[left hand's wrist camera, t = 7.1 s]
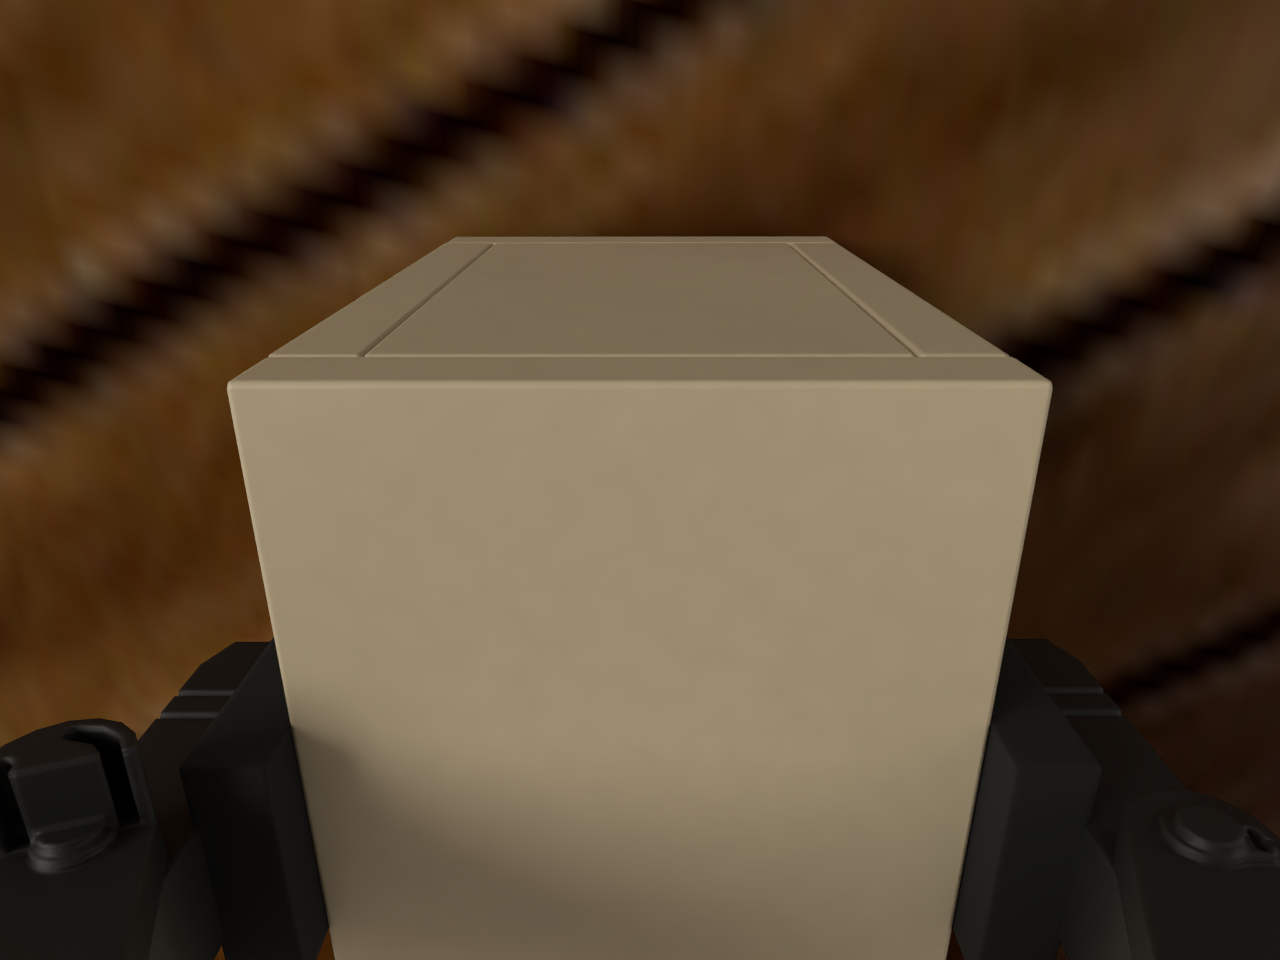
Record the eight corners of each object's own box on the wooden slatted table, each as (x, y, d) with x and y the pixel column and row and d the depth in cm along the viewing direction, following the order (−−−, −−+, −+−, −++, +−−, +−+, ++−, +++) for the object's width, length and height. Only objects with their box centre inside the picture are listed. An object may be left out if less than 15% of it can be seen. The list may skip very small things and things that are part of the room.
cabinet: (764, 1046, 24) (833, 1570, 15) (519, 1046, 24) (449, 1569, 15) (828, 235, 16) (1058, 381, 7) (453, 236, 16) (221, 381, 7)
